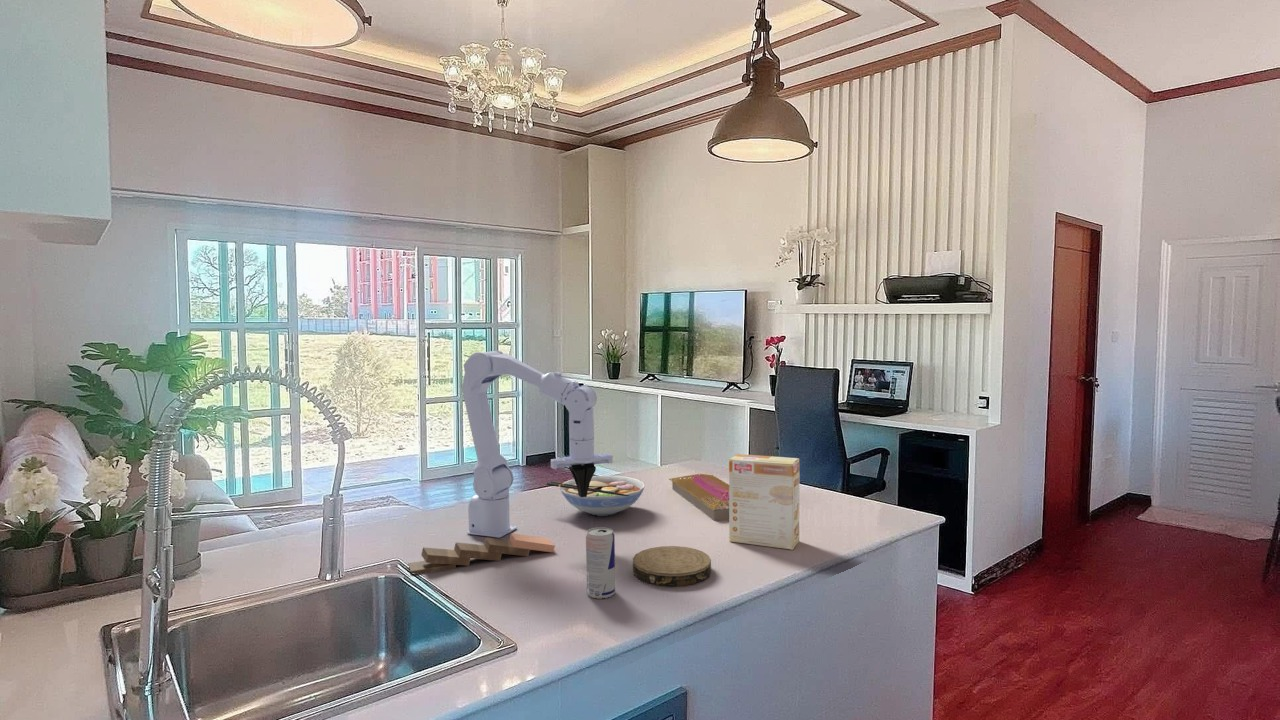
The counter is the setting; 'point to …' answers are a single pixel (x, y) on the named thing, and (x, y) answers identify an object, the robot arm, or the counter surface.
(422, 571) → the domino
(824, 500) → the counter surface
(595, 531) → the energy drink
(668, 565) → the wooden tree slice
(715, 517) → the brown rectangular box
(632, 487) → the ramen bowl
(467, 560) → the domino
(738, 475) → the coffeecake box
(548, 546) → the orange tan rectangular block
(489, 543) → the domino
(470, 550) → the domino
